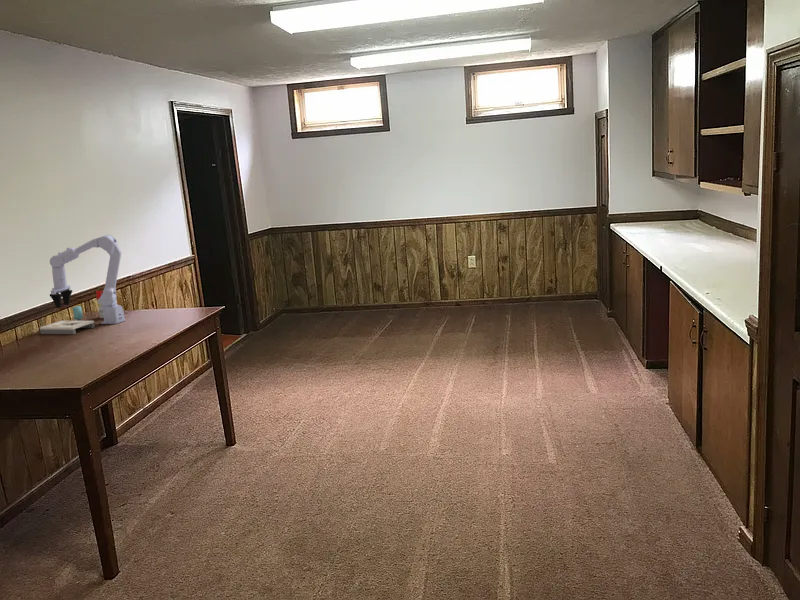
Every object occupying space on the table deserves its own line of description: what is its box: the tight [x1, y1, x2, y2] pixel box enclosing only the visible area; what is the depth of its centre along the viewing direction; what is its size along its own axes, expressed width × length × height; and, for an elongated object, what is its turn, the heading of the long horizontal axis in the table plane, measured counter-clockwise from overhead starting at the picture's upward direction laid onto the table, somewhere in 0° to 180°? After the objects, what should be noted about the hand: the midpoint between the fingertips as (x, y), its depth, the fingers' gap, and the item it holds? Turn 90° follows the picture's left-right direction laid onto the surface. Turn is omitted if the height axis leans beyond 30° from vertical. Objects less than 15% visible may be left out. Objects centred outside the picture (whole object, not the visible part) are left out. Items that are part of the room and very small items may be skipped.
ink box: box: [95, 290, 118, 319], centre depth 362 cm, size 8×5×15 cm, turn 84°
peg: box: [72, 305, 84, 321], centre depth 346 cm, size 4×4×9 cm
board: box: [39, 320, 95, 335], centre depth 336 cm, size 20×14×4 cm
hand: (62, 306), depth 342 cm, fingers open, 7 cm apart
